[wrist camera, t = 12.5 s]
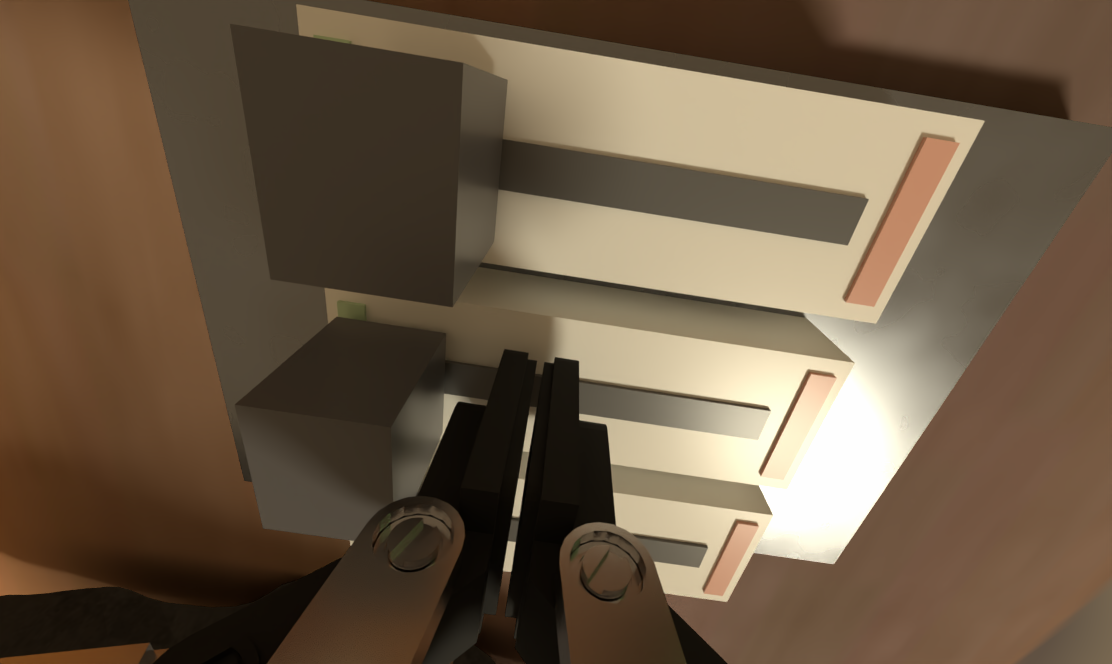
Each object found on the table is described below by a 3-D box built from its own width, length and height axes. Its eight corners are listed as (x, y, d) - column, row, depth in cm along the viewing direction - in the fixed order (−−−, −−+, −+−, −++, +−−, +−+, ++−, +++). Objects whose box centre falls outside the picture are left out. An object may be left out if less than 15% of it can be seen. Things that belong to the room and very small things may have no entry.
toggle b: (442, 432, 11) (394, 546, 8) (345, 418, 11) (263, 528, 8) (446, 333, 10) (390, 427, 7) (336, 316, 10) (233, 405, 7)
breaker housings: (707, 536, 16) (727, 605, 14) (381, 490, 16) (349, 552, 14) (897, 118, 10) (989, 121, 8) (359, 26, 10) (292, 2, 7)
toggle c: (494, 241, 9) (453, 307, 6) (372, 222, 9) (270, 279, 6) (507, 79, 7) (463, 62, 5) (365, 55, 7) (229, 23, 4)
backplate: (818, 536, 18) (833, 564, 17) (265, 457, 17) (244, 480, 16) (1072, 127, 11) (1126, 130, 10) (166, -27, 10) (117, -43, 9)
